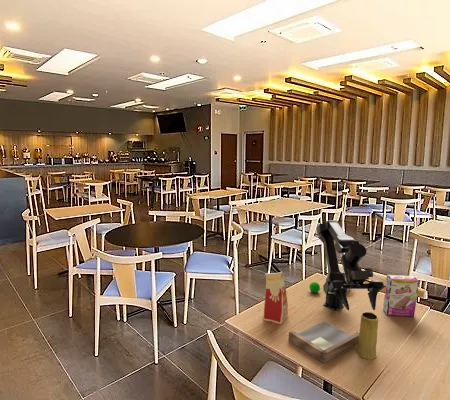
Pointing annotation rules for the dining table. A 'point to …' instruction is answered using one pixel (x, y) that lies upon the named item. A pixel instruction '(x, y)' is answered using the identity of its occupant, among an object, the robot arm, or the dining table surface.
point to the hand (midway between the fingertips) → (361, 309)
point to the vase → (368, 336)
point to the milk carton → (275, 298)
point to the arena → (324, 341)
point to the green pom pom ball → (314, 287)
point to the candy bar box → (400, 295)
